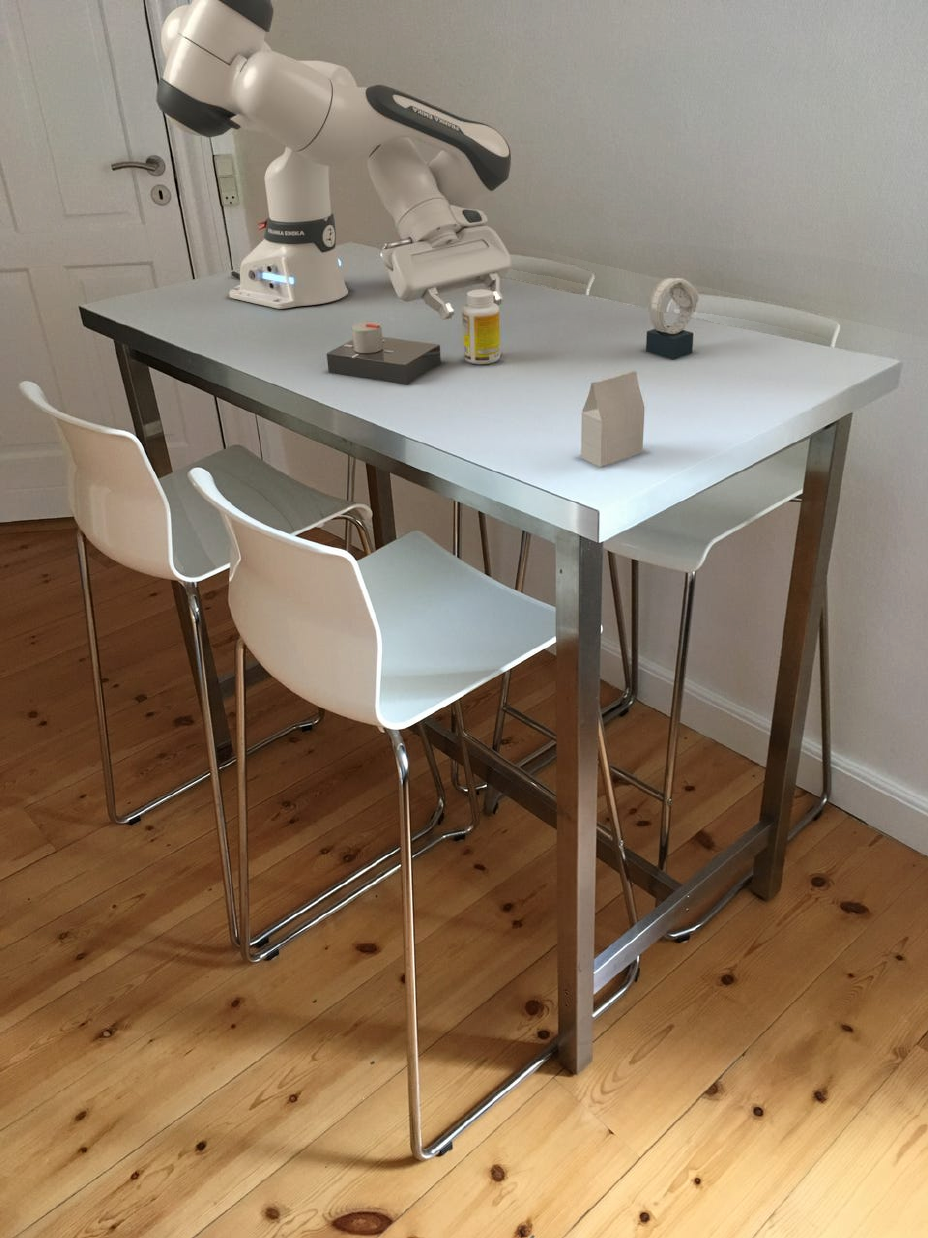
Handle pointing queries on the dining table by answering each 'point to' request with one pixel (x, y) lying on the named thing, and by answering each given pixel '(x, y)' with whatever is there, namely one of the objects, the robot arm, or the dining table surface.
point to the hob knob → (367, 337)
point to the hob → (386, 360)
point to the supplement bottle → (481, 328)
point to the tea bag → (612, 420)
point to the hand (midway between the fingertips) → (473, 310)
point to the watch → (673, 337)
